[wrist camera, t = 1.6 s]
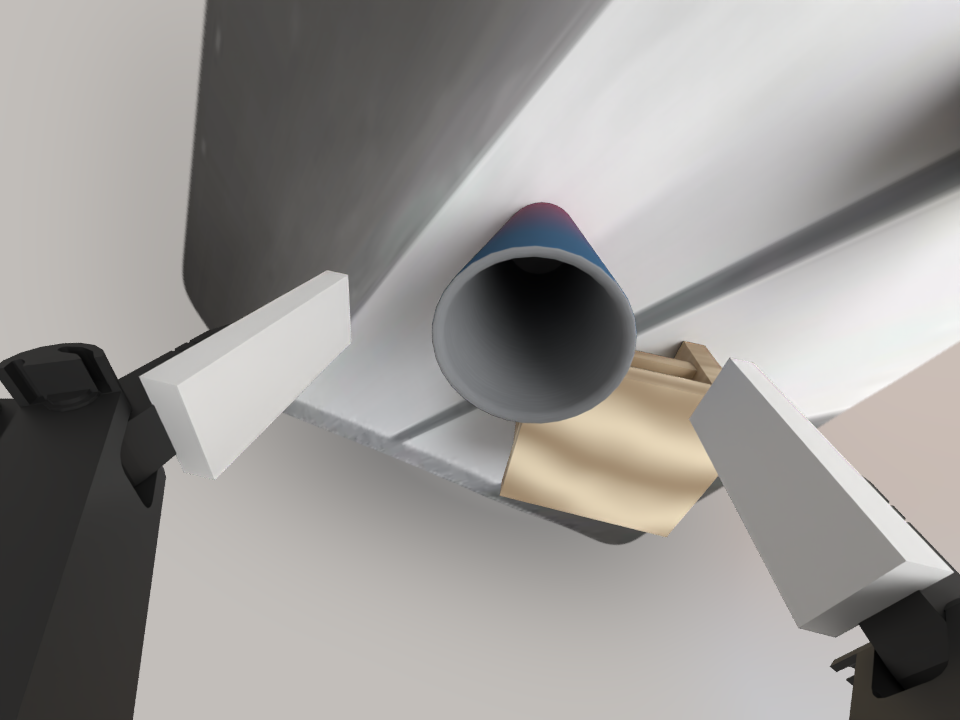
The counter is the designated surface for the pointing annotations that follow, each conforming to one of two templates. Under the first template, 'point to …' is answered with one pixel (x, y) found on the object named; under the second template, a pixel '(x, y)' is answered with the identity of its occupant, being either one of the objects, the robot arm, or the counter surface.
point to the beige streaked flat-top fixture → (623, 448)
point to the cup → (535, 322)
